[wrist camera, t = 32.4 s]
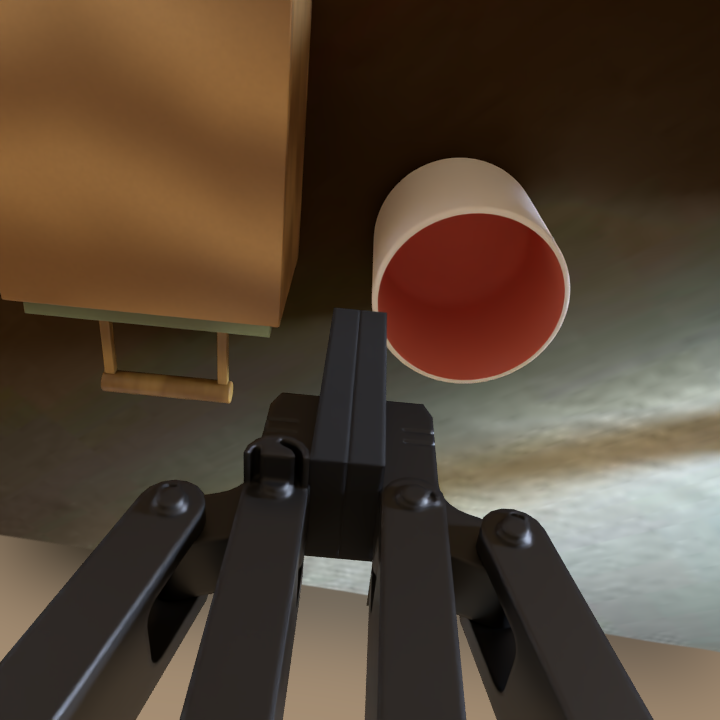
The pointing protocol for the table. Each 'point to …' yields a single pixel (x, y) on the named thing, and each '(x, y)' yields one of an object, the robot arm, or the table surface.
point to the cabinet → (153, 154)
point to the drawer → (158, 382)
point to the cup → (466, 273)
